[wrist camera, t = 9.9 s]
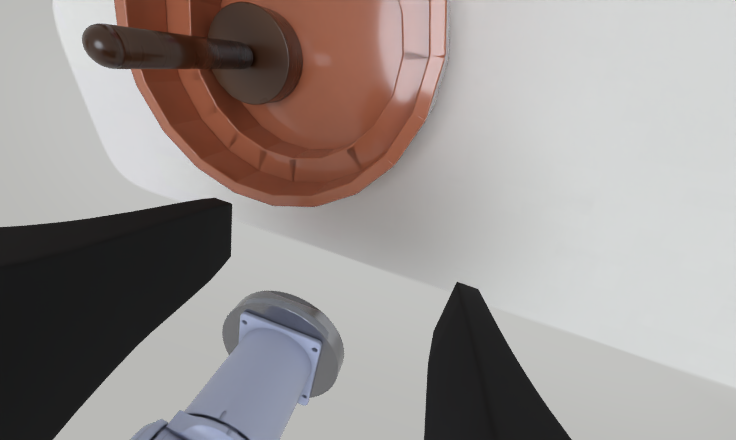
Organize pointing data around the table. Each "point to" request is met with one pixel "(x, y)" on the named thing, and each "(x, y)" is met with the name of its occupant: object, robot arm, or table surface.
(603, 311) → the table surface
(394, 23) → the bowl
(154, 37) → the disc with handle
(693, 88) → the table surface
